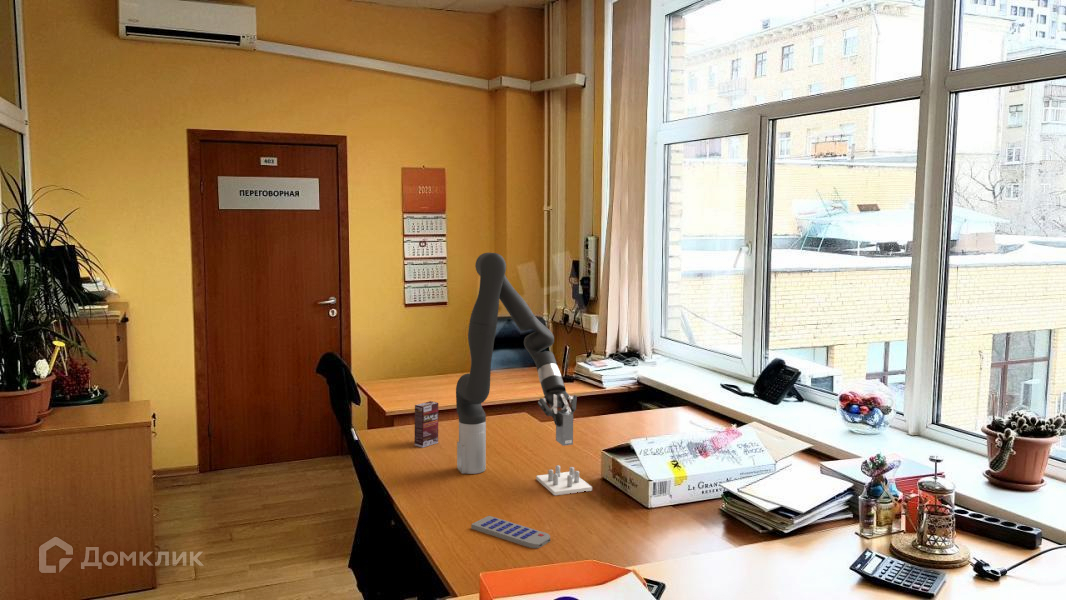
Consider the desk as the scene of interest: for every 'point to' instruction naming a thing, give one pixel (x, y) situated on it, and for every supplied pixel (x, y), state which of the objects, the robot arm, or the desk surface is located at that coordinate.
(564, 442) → the drive
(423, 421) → the supplement box
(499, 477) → the desk surface
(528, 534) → the remote control
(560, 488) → the tray
